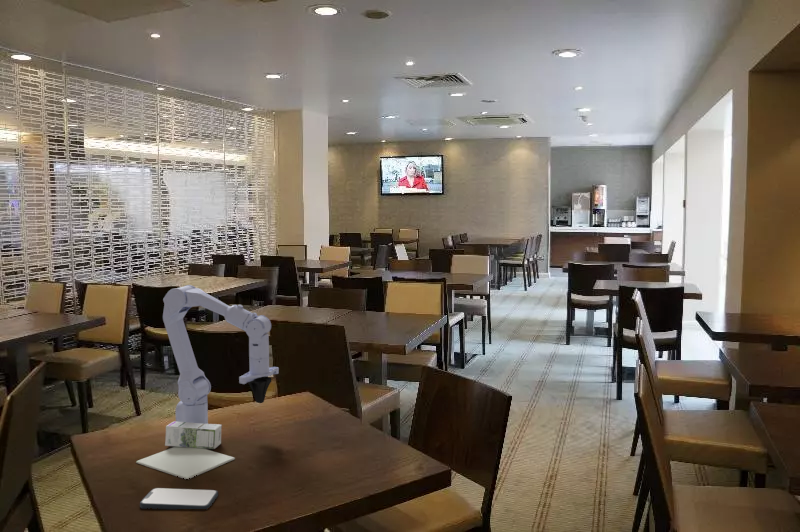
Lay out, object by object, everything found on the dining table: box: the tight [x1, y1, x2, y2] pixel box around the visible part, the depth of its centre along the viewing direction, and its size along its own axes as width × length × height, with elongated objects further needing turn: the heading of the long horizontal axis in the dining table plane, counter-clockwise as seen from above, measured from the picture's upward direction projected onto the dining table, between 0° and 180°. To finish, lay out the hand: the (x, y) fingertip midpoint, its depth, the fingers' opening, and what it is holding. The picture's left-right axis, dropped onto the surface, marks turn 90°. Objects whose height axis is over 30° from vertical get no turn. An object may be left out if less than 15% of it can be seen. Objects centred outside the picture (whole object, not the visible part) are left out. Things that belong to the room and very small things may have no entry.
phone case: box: [139, 487, 219, 510], centre depth 155 cm, size 9×2×16 cm
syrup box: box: [164, 420, 223, 450], centre depth 189 cm, size 6×6×14 cm
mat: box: [135, 446, 236, 480], centre depth 179 cm, size 20×16×1 cm
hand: (259, 402), depth 199 cm, fingers closed
